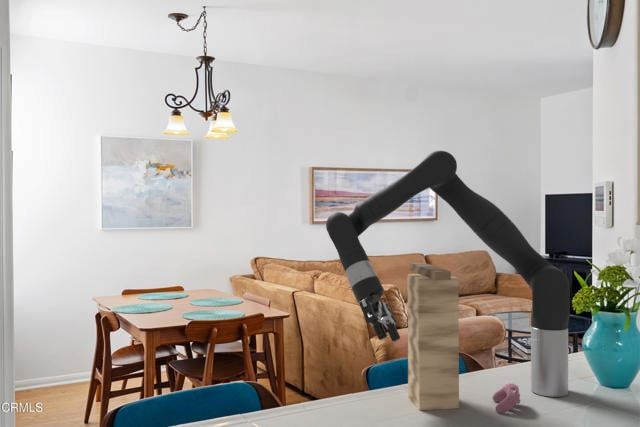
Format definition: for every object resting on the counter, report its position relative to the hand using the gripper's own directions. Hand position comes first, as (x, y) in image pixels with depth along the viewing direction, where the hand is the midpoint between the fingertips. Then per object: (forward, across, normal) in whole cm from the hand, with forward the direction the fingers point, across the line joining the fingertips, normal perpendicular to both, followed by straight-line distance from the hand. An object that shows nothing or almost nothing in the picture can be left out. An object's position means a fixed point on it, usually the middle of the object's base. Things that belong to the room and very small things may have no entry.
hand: (390, 339), depth 151 cm
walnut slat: (-11, +6, -15) cm, 19 cm away
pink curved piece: (+25, +16, -15) cm, 33 cm away
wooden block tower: (+17, +11, 0) cm, 20 cm away
